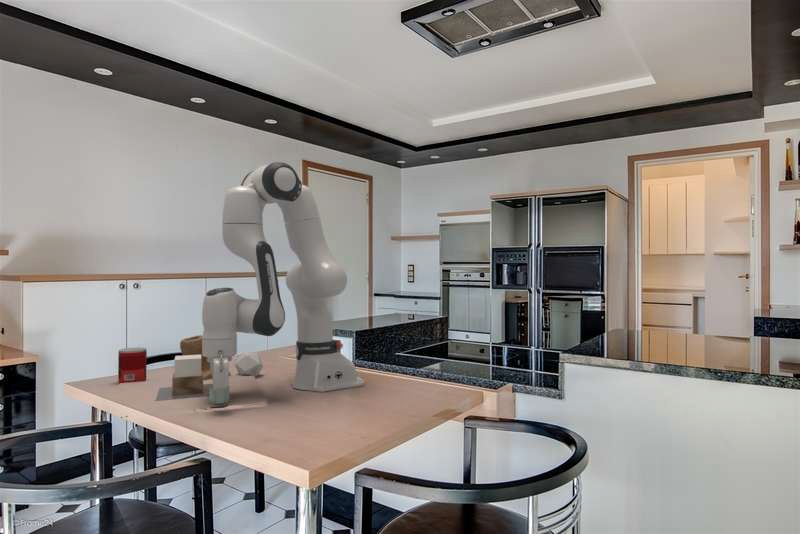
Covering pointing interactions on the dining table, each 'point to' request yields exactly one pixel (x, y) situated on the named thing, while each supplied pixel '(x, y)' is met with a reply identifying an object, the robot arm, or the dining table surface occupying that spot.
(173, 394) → the walnut block
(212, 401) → the sage cylinder
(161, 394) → the slate coaster
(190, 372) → the cream block
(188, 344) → the tan boot
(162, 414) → the dining table surface
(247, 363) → the die
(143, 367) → the red box
